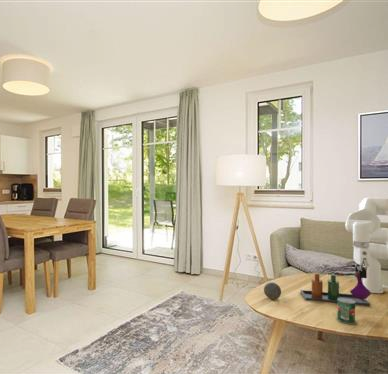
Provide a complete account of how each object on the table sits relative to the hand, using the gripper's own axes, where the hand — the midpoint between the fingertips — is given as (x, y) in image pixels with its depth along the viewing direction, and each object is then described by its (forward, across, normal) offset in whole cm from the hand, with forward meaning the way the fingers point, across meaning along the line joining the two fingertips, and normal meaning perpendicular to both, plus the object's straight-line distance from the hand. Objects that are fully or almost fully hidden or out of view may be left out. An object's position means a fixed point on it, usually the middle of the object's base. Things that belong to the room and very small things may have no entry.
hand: (360, 275), depth 171 cm
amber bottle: (+20, +14, +18) cm, 30 cm away
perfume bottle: (+13, 0, 0) cm, 13 cm away
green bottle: (+20, +14, +9) cm, 26 cm away
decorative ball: (+20, +6, +45) cm, 50 cm away
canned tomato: (+20, -16, +12) cm, 28 cm away
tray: (+20, +14, +9) cm, 27 cm away
